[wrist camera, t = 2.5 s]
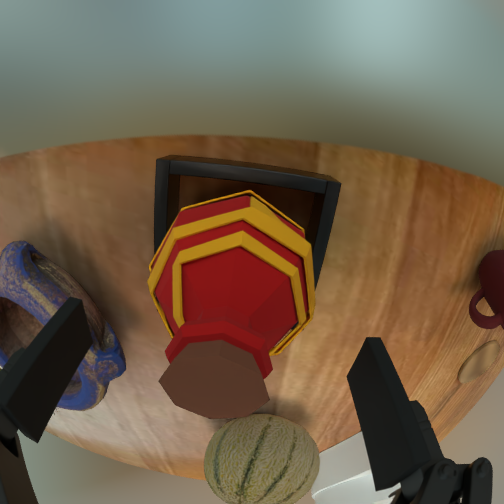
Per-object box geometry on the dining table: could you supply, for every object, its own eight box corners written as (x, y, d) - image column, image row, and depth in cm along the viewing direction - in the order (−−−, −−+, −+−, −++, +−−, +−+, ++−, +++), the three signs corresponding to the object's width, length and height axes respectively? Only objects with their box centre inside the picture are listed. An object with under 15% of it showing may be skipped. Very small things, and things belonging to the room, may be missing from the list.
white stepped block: (437, 415, 36) (459, 469, 24) (366, 469, 47) (375, 514, 34) (358, 418, 34) (376, 493, 22) (293, 472, 44) (295, 525, 32)
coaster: (495, 331, 28) (497, 333, 27) (499, 354, 30) (501, 356, 30) (453, 369, 31) (454, 372, 30) (462, 387, 33) (463, 389, 32)
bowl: (166, 335, 28) (137, 411, 18) (83, 370, 32) (55, 422, 23) (59, 197, 21) (-15, 237, 12) (2, 275, 26) (-42, 315, 17)
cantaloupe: (326, 427, 35) (338, 511, 22) (243, 447, 38) (239, 523, 25) (288, 380, 30) (297, 497, 16) (189, 407, 33) (170, 502, 20)
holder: (331, 175, 20) (341, 183, 18) (299, 310, 26) (303, 330, 23) (169, 154, 20) (156, 159, 17) (166, 292, 25) (157, 311, 23)
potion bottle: (154, 224, 22) (48, 345, 9) (255, 149, 20) (247, 190, 6) (228, 311, 26) (206, 460, 12) (325, 255, 23) (388, 402, 10)
